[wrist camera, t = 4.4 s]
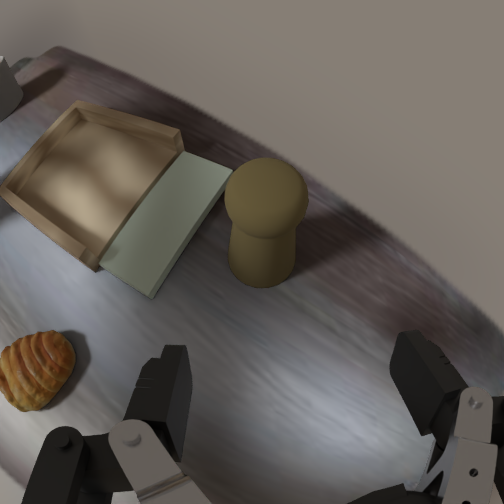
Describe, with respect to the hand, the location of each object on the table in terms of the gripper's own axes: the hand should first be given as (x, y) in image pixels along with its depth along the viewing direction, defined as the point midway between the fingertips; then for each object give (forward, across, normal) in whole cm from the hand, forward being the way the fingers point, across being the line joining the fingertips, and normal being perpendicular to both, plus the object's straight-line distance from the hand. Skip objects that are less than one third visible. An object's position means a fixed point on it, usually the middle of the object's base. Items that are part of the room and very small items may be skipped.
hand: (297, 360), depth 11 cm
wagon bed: (+24, -20, +4) cm, 32 cm away
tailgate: (+20, -12, +2) cm, 23 cm away
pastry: (+9, -22, -11) cm, 27 cm away
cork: (+17, 0, -3) cm, 17 cm away
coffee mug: (+40, -50, +21) cm, 67 cm away
